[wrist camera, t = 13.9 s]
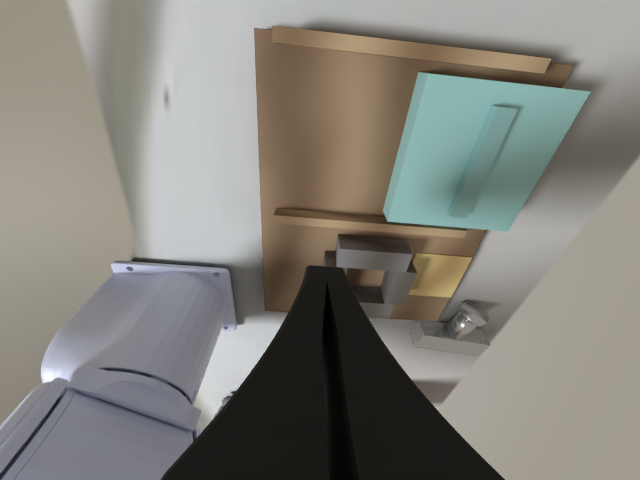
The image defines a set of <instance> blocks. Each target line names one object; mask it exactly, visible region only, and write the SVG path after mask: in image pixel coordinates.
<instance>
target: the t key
mask: <svg viewBox="0 0 640 480" xmlns="http://www.w3.org/2000/svg"><path fill="white" fill-rule="evenodd" d="M488 320H489V319H488V315H487V313H486V312H485V311H484V309H483V308H481V307H480V306H479V305H477V304H476V303H474V302H471V301H465V302H463V303H462V304H461V306H460V312H459V313H458V314H457V315H456V316H455V317H454V318H453V319H452V320H451V321H450V322H449V323H443V322H437V321H423V320H418V321H417V322H416V323H415V325H414V326H413V328H412V329H411V331H410V334H411V338H412V342H413V346H414V347H419V348H426V349H433V350H440V351H446V352H453V353H460V354H467V355H474V356H478V355H479V354H480V353H481V352H483V351H484V350H485V349H487V348H488V347H489V346H490V344H489V342H488V340H487V338H486V336H485V334H484V332H483V330H482V329H480V328H476V327H477V326H480V327H481V326H484V325H485V324H486V323H487V322H488Z"/></svg>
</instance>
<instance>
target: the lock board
mask: <svg viewBox="0 0 640 480" xmlns="http://www.w3.org/2000/svg"><path fill="white" fill-rule="evenodd" d="M254 38H255V65H256V91H257V117H258V143H259V170H260V196H261V222H262V249H263V275H264V301H265V311H281V312H289V311H290V309H291V307H292V305H293V302H294V300H295V298H296V296H297V294H298V292H299V289H300V286H301V284H302V281H303V278H304V274H305V269H306V267H307V266H309V265H314V266H328V267H341V268H343V269H344V271H345V273H346V276H347V278H348V281H349V283H350V285H351V287H352V289H353V291H354V293H355V295H356V297H357V299H358V301H359V303H360V305H361V307H362V308H363V310H364V312H365V314H366V316H367V317H376V318H391V319H407V320H423V321H438V319H439V317H440V315H441V314H442V312H443V310H444V308H445V306H446V304H447V302H448V300H449V299H450V298H451V297H452V295H453V293H454V291H455V289H456V287H457V285H458V284H459V282H460V280H461V278H462V276H463V274H464V272H465V270H466V269H467V267H468V265H469V263H470V261H471V259H472V255H473V254H474V252H475V250H476V248H477V246H478V244H479V242H480V240H481V239H482V237H483V235H484V233H485V231H486V230H484V229H471V228H459V227H447V226H435V225H423V224H411V223H399V222H387V219H386V217H385V215H384V212H383V208H384V204H385V200H386V196H387V192H388V188H389V184H390V180H391V177H392V173H393V169H394V165H395V161H396V157H397V153H398V149H399V146H400V142H401V138H402V134H403V130H404V126H405V122H406V118H407V114H408V111H409V107H410V103H411V99H412V95H413V91H414V87H415V83H416V79H417V76H418V72H422V73H431V74H440V75H449V76H458V77H467V78H475V79H484V80H493V81H502V82H511V83H520V84H529V85H538V86H546V87H555V88H562V87H563V85H564V83H565V81H566V79H567V77H568V75H569V74H570V72H571V70H572V68H573V66H574V65H565V64H557V63H550V61H551V58H542V57H534V56H525V55H517V54H508V53H500V52H491V51H483V50H475V49H466V48H458V47H449V46H441V45H432V44H424V43H415V42H407V41H399V40H390V39H382V38H373V37H365V36H356V35H348V34H340V33H331V32H323V31H314V30H306V29H297V28H289V27H280V26H272V30H268V29H259V28H254Z"/></svg>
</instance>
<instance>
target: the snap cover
mask: <svg viewBox="0 0 640 480" xmlns="http://www.w3.org/2000/svg"><path fill="white" fill-rule="evenodd" d="M589 94H590V92H589V91H581V90H573V89H564V88H555V87H546V86H538V85H529V84H520V83H511V82H502V81H493V80H484V79H475V78H467V77H458V76H449V75H440V74H431V73H422V72H418V76H417V79H416V83H415V87H414V91H413V95H412V99H411V103H410V107H409V111H408V114H407V118H406V122H405V126H404V130H403V134H402V138H401V142H400V146H399V149H398V153H397V157H396V161H395V165H394V169H393V173H392V177H391V180H390V184H389V188H388V192H387V196H386V200H385V204H384V208H383V212H384V215H385V217H386V219H387V222H399V223H411V224H423V225H435V226H447V227H459V228H471V229H484V230H496V231H509V229H510V227H511V226H512V224H513V222H514V221H515V219H516V217H517V216H518V214H519V212H520V211H521V209H522V207H523V205H524V204H525V202H526V200H527V199H528V197H529V195H530V194H531V192H532V190H533V189H534V187H535V185H536V184H537V182H538V180H539V178H540V177H541V175H542V173H543V172H544V170H545V168H546V167H547V165H548V163H549V162H550V160H551V158H552V156H553V155H554V153H555V151H556V150H557V148H558V146H559V145H560V143H561V141H562V140H563V138H564V136H565V135H566V133H567V131H568V129H569V128H570V126H571V124H572V123H573V121H574V119H575V118H576V116H577V114H578V113H579V111H580V109H581V107H582V106H583V104H584V102H585V101H586V99H587V97H588V96H589Z"/></svg>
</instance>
